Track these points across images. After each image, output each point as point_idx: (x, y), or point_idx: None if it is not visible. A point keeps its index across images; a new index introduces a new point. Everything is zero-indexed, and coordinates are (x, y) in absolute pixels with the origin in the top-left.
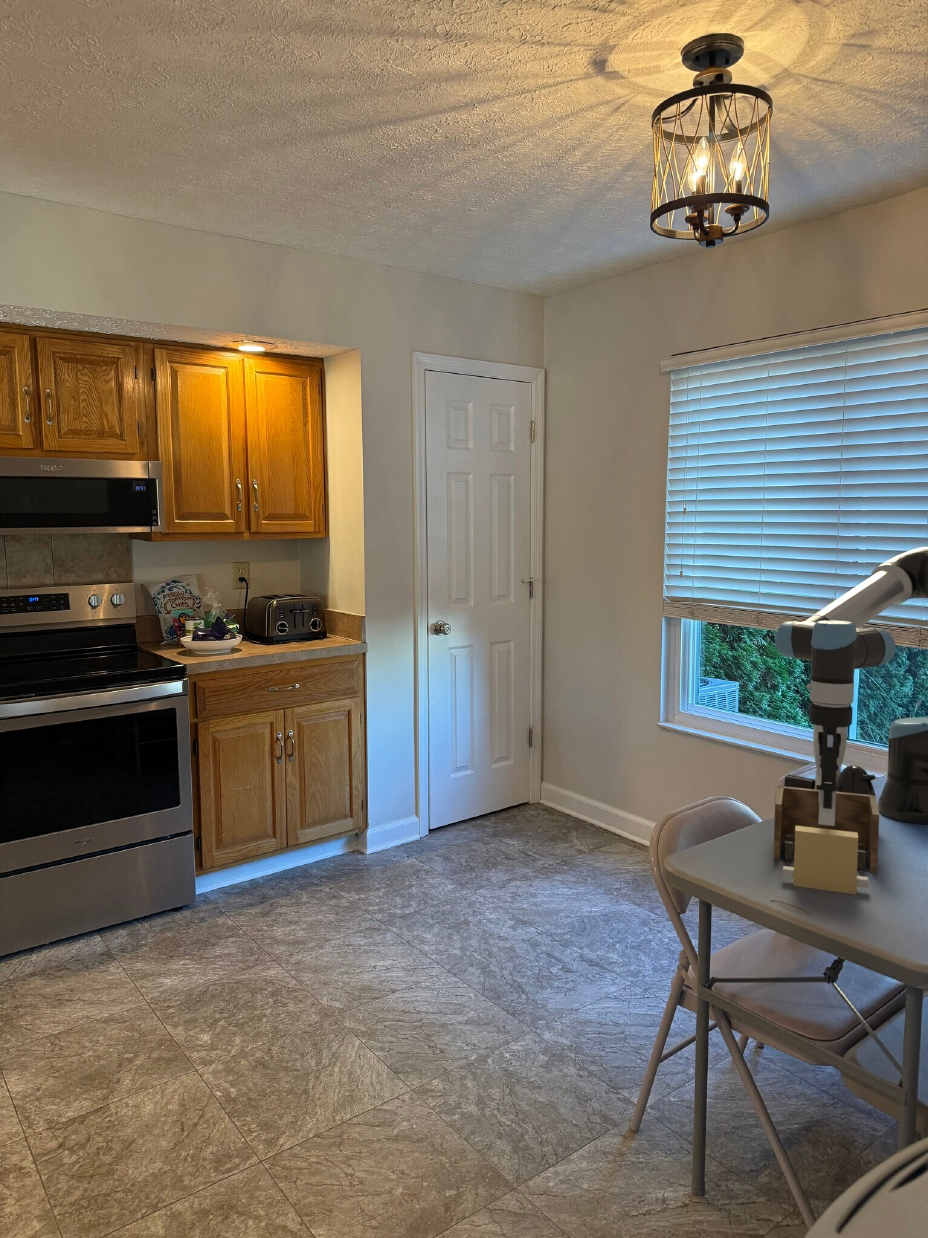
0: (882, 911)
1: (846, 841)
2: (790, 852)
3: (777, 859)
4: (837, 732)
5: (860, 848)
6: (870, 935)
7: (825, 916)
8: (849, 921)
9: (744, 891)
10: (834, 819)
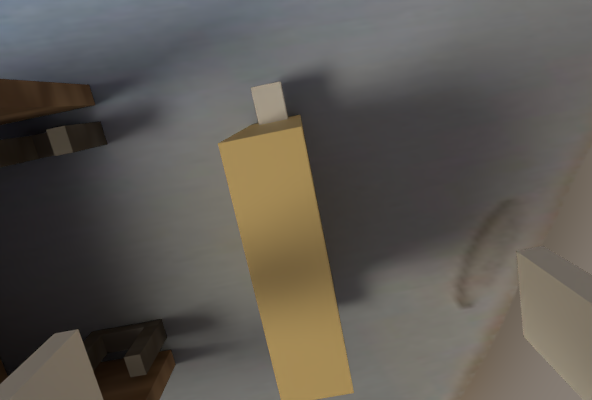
0: (389, 21)
1: (311, 176)
2: (151, 341)
3: (171, 357)
4: None
5: (4, 153)
6: (580, 27)
7: (504, 162)
8: (509, 97)
9: (438, 373)
10: (571, 264)
